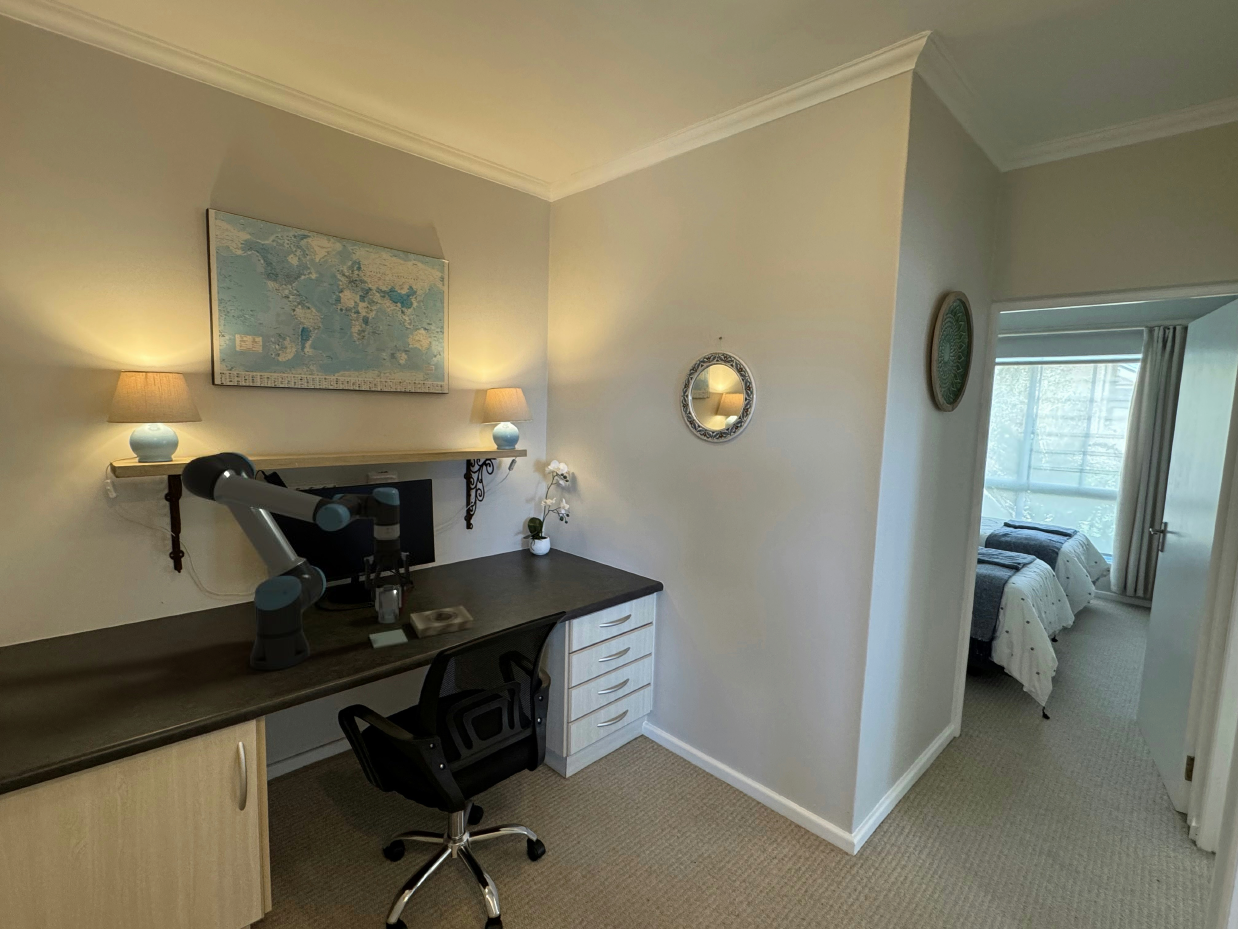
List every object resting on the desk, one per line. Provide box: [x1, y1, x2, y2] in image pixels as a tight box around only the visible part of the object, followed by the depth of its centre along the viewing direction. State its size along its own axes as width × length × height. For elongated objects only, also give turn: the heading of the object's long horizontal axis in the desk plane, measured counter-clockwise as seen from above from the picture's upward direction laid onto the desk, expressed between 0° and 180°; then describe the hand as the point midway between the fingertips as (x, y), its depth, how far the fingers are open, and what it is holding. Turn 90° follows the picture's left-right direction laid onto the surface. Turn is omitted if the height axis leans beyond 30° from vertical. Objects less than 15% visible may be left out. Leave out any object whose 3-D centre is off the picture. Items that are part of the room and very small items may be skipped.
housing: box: [409, 605, 475, 639], centre depth 198 cm, size 18×14×3 cm
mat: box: [368, 629, 409, 650], centre depth 186 cm, size 10×10×1 cm
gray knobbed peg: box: [377, 584, 399, 624], centre depth 184 cm, size 6×6×11 cm
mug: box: [373, 584, 407, 617], centre depth 203 cm, size 11×8×10 cm
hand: (388, 607), depth 184 cm, fingers closed on gray knobbed peg, 6 cm apart
